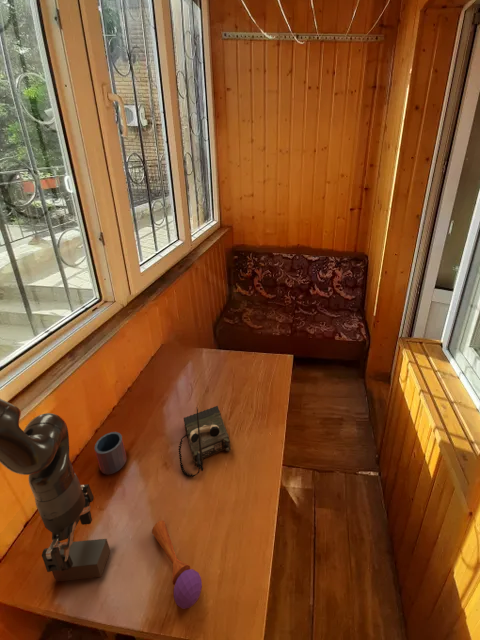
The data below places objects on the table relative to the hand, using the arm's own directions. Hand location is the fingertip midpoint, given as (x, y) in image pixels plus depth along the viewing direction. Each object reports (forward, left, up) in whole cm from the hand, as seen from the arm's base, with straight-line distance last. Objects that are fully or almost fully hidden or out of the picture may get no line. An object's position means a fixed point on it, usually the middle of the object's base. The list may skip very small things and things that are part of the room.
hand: (77, 544), depth 72 cm
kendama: (+22, -2, -8) cm, 24 cm away
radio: (+24, +28, -8) cm, 38 cm away
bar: (0, 0, -8) cm, 8 cm away
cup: (-4, +26, -8) cm, 27 cm away
